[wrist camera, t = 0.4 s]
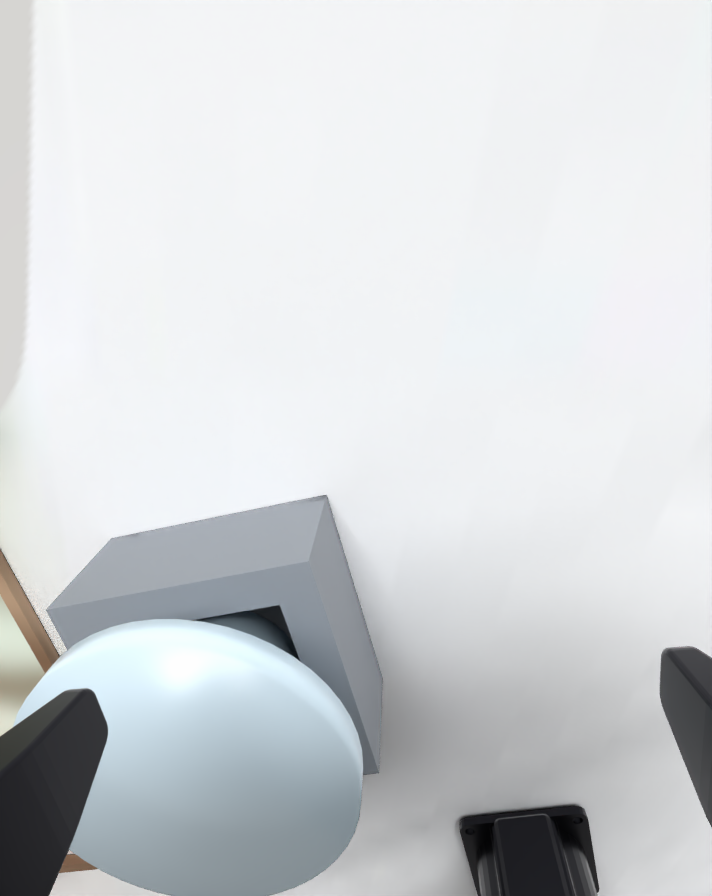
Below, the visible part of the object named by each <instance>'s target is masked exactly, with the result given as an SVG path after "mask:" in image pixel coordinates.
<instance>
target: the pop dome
mask: <svg viewBox="0 0 712 896" xmlns="http://www.w3.org/2000/svg"><path fill="white" fill-rule="evenodd" d="M81 688H88V689H91V690H92V691H93V692H94V693H95V694H96V697H97V699H98V702H99V704H100V707H101V709H102V712H103V714H104V717H105V719H106V722H107V725H108V738H107V742H106V745H105V748H104V751H103V754H102V757H101V760H100V763H99V766H98V769H97V772H96V775H95V778H94V781H93V784H92V787H91V790H90V793H89V795H88V798H87V801H86V804H85V807H84V810H83V813H82V816H81V819H80V822H79V825H78V827H77V830H76V833H75V836H74V838H73V841H72V843H71V846H70V848H69V850H70V851H72V852H73V853H74V854H76V855H77V856H79V857H80V858H81V859H83V860H84V861H86V862H88V863H89V864H91V865H93V866H94V867H96V868H98V869H100V870H101V871H103V872H105V873H107V874H109V875H112V876H114V877H116V878H118V879H120V880H122V881H125V882H127V883H130V884H133V885H135V886H138V887H141V888H144V889H147V890H151V891H154V892H158V893H161V894H166V895H171V896H269V895H273V894H277V893H280V892H283V891H286V890H289V889H292V888H294V887H297V886H299V885H301V884H303V883H305V882H307V881H309V880H311V879H312V878H314V877H315V876H317V875H318V874H320V873H321V872H323V871H324V870H326V869H327V868H328V867H329V866H330V865H331V864H332V863H333V862H334V861H335V860H337V859H338V857H339V856H340V855H341V853H342V852H343V851H344V850H345V848H346V847H347V846H348V844H349V842H350V840H351V838H352V836H353V834H354V832H355V829H356V826H357V823H358V820H359V815H360V806H361V794H362V779H363V756H362V748H361V744H360V740H359V736H358V733H357V730H356V728H355V726H354V723H353V721H352V719H351V717H350V715H349V713H348V712H347V710H346V709H345V707H344V705H343V704H342V702H341V701H340V699H339V698H338V697H337V696H336V694H335V693H334V692H333V691H332V690H331V688H330V687H329V686H328V685H327V684H326V683H325V682H324V681H323V680H322V679H321V678H320V677H319V676H318V675H316V674H315V673H314V672H313V671H312V670H311V669H310V668H308V667H307V666H306V665H304V664H303V663H302V662H300V659H299V657H298V654H297V651H296V648H295V646H294V643H293V641H292V640H291V639H290V638H289V636H288V635H287V634H286V633H285V632H284V631H283V630H282V629H280V628H279V627H278V626H277V625H275V624H274V623H273V622H271V621H269V620H268V619H266V618H264V617H262V616H260V615H258V614H255V613H253V612H250V611H242V612H236V613H231V614H225V615H219V616H213V617H208V618H202V619H196V620H183V619H152V620H143V621H134V622H129V623H125V624H121V625H117V626H113V627H110V628H107V629H105V630H102V631H99V632H97V633H94V634H92V635H90V636H88V637H87V638H85V639H83V640H81V641H79V642H78V643H76V644H75V645H73V646H72V647H71V648H70V649H68V650H67V651H66V652H65V653H63V654H62V655H61V656H60V657H59V658H58V659H57V660H56V662H55V663H54V664H53V665H52V666H51V667H50V668H49V670H48V671H47V672H46V673H45V675H44V676H43V677H42V679H41V680H40V681H39V682H38V684H37V685H36V686H35V687H34V689H33V690H32V691H31V693H30V694H29V695H28V696H27V698H26V699H25V701H24V703H23V704H22V706H21V708H20V709H19V711H18V713H17V716H16V719H15V722H14V725H13V727H14V726H15V725H17V724H18V723H20V722H21V721H22V720H24V719H25V718H27V717H28V716H30V715H31V714H32V713H34V712H35V711H37V710H38V709H39V708H41V707H42V706H44V705H45V704H46V703H48V702H49V701H51V700H52V699H53V698H55V697H56V696H58V695H59V694H60V693H62V692H64V691H66V690H69V689H81Z"/></svg>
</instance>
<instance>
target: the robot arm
mask: <svg viewBox="0 0 712 896" xmlns="http://www.w3.org/2000/svg"><path fill="white" fill-rule="evenodd" d="M660 698H661V703H662V706H663V709H664V712H665V715H666V717H667V720H668V722H669V725H670V727H671V730H672V732H673V735H674V737H675V740H676V742H677V745H678V747H679V750H680V752H681V755H682V757H683V760H684V762H685V765H686V767H687V770H688V772H689V775H690V778H691V780H692V783H693V785H694V788H695V790H696V793H697V795H698V798H699V800H700V802H701V805H702V807H703V810H704V812H705V814H706V817H707V819H708V821H709V823H710V825H711V827H712V658H711V657H710V656H708V655H707V654H705V653H703V652H702V651H700V650H699V649H697V648H695V647H690V646H686V647H672V648H666V649H664V650H663V652H662V655H661V671H660ZM107 738H108V725H107V722H106V719H105V717H104V714H103V712H102V709H101V707H100V704H99V702H98V699H97V697H96V694H95V693H94V692H93V691H92V690H91V689H88V688H81V689H69V690H66V691H64V692H62V693H60V694H59V695H58V696H56V697H55V698H53V699H52V700H51V701H49V702H48V703H46V704H45V705H44V706H42V707H41V708H39V709H38V710H37V711H35V712H34V713H32V714H31V715H30V716H28V717H27V718H25V719H24V720H22V721H21V722H20V723H18V724H17V725H15V726H14V727H13V728H11V729H10V730H8V731H7V732H6V733H4V734H3V735H1V736H0V896H49V894H50V892H51V890H52V887H53V885H54V883H55V881H56V878H57V876H58V874H59V871H60V869H61V867H62V865H63V862H64V860H65V858H66V855H67V853H68V850H69V848H70V846H71V843H72V841H73V838H74V836H75V833H76V830H77V827H78V825H79V822H80V819H81V816H82V813H83V810H84V807H85V804H86V801H87V798H88V795H89V793H90V790H91V787H92V784H93V781H94V778H95V775H96V772H97V769H98V766H99V763H100V760H101V757H102V754H103V751H104V748H105V745H106V742H107ZM460 833H461V837H462V840H463V844H464V847H465V851H466V855H467V858H468V862H469V865H470V869H471V873H472V876H473V880H474V883H475V887H476V891H477V894H478V896H598V895H597V893H598V891H599V885H598V879H597V873H596V866H595V860H594V854H593V848H592V841H591V835H590V829H589V823H588V818H587V815H586V812H585V810H584V809H583V808H582V807H579V806H572V807H563V808H553V809H544V810H534V811H525V812H515V813H506V814H496V815H487V816H477V817H468V818H464V819H462V820H461V821H460Z"/></svg>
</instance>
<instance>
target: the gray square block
mask: <svg viewBox="0 0 712 896" xmlns="http://www.w3.org/2000/svg"><path fill="white" fill-rule="evenodd" d="M46 611H47V613H48V615H49V617H50V619H51V620H52V622H53V624H54V626H55V628H56V630H57V631H58V633H59V635H60V637H61V639H62V641H63V642H64V644H65V646H66V648H67V650H68V649H70V648H71V647H72V646H73V645H75V644H76V643H78V642H79V641H81V640H83V639H85V638H87V637H88V636H90V635H92V634H94V633H97V632H99V631H102V630H105V629H107V628H110V627H113V626H117V625H121V624H125V623H129V622H134V621H143V620H152V619H183V620H196V619H202V618H208V617H213V616H219V615H225V614H231V613H236V612H242V611H250V612H253V613H255V614H258V615H260V616H262V617H264V618H266V619H268V620H269V621H271V622H273V623H274V624H275V625H277V626H278V627H279V628H280V629H282V630H283V631H284V632H285V633H286V634H287V635H288V636H289V638H290V639H291V640H292V641H293V643H294V646H295V648H296V651H297V654H298V657H299V659H300V662H302V663H303V664H304V665H306V666H307V667H308V668H310V669H311V670H312V671H313V672H314V673H315V674H316V675H318V676H319V677H320V678H321V679H322V680H323V681H324V682H325V683H326V684H327V685H328V686H329V687H330V688H331V690H332V691H333V692H334V693H335V694H336V696H337V697H338V698H339V699H340V701H341V702H342V704H343V705H344V707H345V709H346V710H347V712H348V713H349V715H350V717H351V719H352V721H353V723H354V726H355V728H356V730H357V733H358V736H359V740H360V744H361V748H362V756H363V775H367V774H375V773H379V764H380V736H381V707H382V679H383V678H382V675H381V672H380V668H379V665H378V662H377V659H376V655H375V652H374V649H373V645H372V642H371V639H370V636H369V632H368V629H367V626H366V623H365V619H364V616H363V613H362V609H361V606H360V603H359V600H358V596H357V593H356V590H355V587H354V583H353V580H352V577H351V574H350V570H349V567H348V564H347V560H346V557H345V554H344V551H343V547H342V544H341V541H340V538H339V534H338V531H337V528H336V524H335V521H334V518H333V515H332V511H331V508H330V505H329V502H328V498H327V495H323V496H318V497H313V498H308V499H303V500H298V501H293V502H288V503H283V504H278V505H274V506H269V507H264V508H259V509H254V510H249V511H244V512H239V513H234V514H229V515H224V516H220V517H215V518H210V519H205V520H200V521H195V522H190V523H185V524H180V525H175V526H170V527H166V528H161V529H156V530H151V531H146V532H141V533H136V534H131V535H126V536H121V537H116V538H111V539H110V541H109V542H108V543H107V544H106V545H105V546H104V547H103V548H102V549H101V550H100V551H99V553H98V554H97V555H96V556H95V557H94V558H93V559H92V560H91V561H90V562H89V563H88V565H87V566H86V567H85V568H84V569H83V570H82V571H81V572H80V573H79V574H78V575H77V577H76V578H75V579H74V580H73V581H72V582H71V583H70V584H69V585H68V586H67V587H66V589H65V590H64V591H63V592H62V593H61V594H60V595H59V596H58V597H57V598H56V599H55V601H54V602H53V603H52V604H51V605H50V606H49V607H48V608H47V609H46Z"/></svg>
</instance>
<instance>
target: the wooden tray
mask: <svg viewBox="0 0 712 896" xmlns="http://www.w3.org/2000/svg"><path fill="white" fill-rule="evenodd" d="M58 658H59V655H58V653H57V651H56V650H55V648H54V646H53V644H52V642H51V641H50V639H49V637H48V635H47V633H46V632H45V630H44V628H43V626H42V624H41V623H40V621H39V619H38V617H37V615H36V613H35V612H34V610H33V608H32V606H31V604H30V603H29V601H28V599H27V597H26V595H25V594H24V592H23V590H22V588H21V586H20V584H19V583H18V581H17V579H16V577H15V575H14V574H13V572H12V570H11V568H10V566H9V565H8V563H7V561H6V559H5V557H4V556H3V554H2V552H1V550H0V736H1V735H3V734H4V733H6V732H7V731H8V730H10V729H11V728H13V725H14V722H15V719H16V716H17V713H18V711H19V709H20V708H21V706H22V704H23V703H24V701H25V699H26V698H27V696H28V695H29V694H30V693H31V691H32V690H33V689H34V687H35V686H36V685H37V684H38V682H39V681H40V680H41V679H42V677H43V676H44V675H45V673H46V672H47V671H48V670H49V668H50V667H51V666H52V665H53V664H54V663H55V662H56V660H57V659H58ZM93 869H98V868H96V867H94V866H93V865H91V864H89V863H88V862H86V861H84V860H83V859H81V858H80V857H79V856H77V855H76V854H72V855H66V858H65V860H64V862H63V865H62V867H61V869H60V871H59V873H64V872H73V871H83V870H93Z"/></svg>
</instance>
